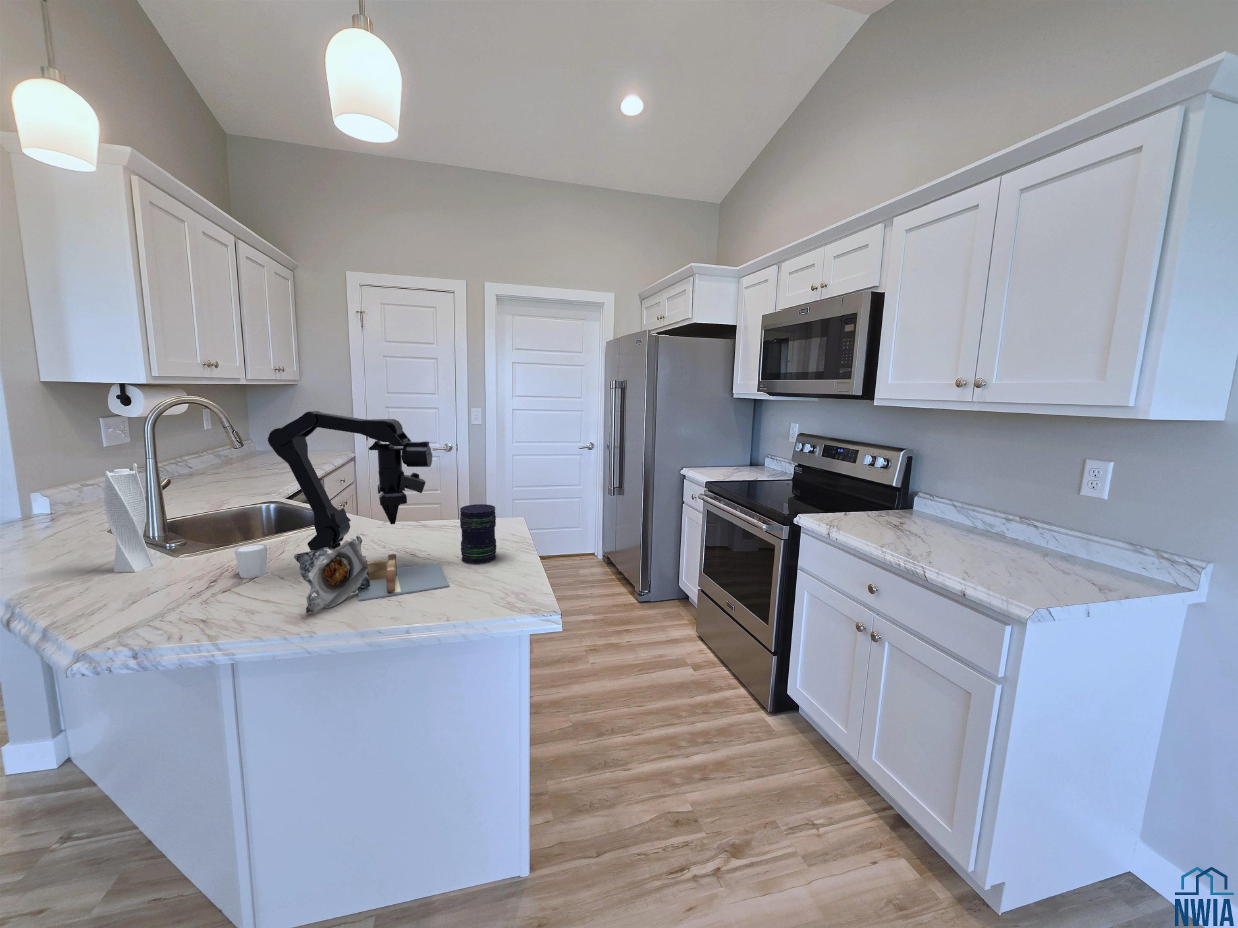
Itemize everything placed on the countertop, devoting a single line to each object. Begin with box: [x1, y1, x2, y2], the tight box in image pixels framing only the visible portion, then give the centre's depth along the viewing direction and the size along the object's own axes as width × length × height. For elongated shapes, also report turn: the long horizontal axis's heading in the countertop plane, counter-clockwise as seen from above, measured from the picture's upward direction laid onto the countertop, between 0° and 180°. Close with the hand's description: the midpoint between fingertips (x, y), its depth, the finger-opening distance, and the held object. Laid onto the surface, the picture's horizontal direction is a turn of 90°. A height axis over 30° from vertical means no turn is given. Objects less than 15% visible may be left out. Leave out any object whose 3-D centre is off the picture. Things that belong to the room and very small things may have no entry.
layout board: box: [357, 562, 451, 602], centre depth 127 cm, size 20×18×1 cm
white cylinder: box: [234, 543, 268, 579], centre depth 129 cm, size 7×7×7 cm
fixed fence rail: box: [365, 559, 388, 581], centre depth 126 cm, size 6×2×5 cm, turn 118°
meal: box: [293, 535, 370, 614], centre depth 114 cm, size 15×4×13 cm, turn 161°
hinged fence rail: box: [386, 553, 398, 592], centre depth 123 cm, size 12×2×5 cm, turn 22°
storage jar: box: [459, 503, 497, 565], centre depth 144 cm, size 10×10×15 cm
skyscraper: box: [103, 463, 154, 573], centre depth 130 cm, size 8×8×28 cm
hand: (392, 523), depth 135 cm, fingers closed
